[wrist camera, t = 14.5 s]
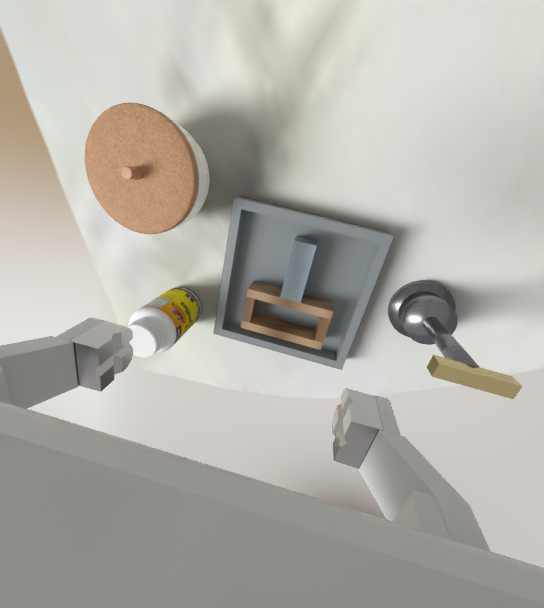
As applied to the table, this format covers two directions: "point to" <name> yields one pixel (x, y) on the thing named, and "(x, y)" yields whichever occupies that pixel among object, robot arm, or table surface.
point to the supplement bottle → (163, 321)
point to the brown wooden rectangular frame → (290, 301)
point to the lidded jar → (145, 169)
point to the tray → (320, 283)
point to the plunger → (443, 337)
